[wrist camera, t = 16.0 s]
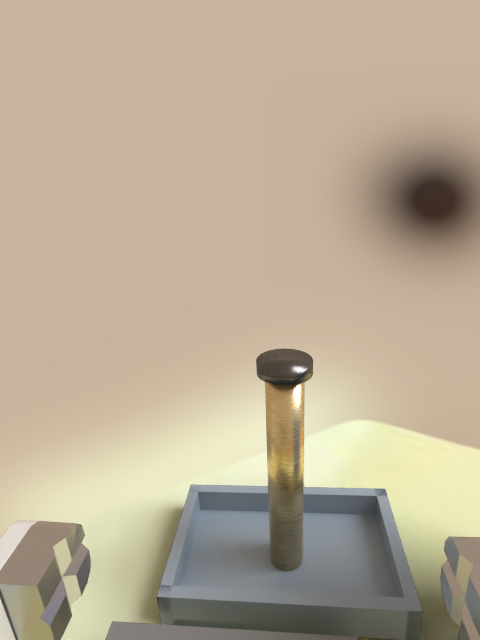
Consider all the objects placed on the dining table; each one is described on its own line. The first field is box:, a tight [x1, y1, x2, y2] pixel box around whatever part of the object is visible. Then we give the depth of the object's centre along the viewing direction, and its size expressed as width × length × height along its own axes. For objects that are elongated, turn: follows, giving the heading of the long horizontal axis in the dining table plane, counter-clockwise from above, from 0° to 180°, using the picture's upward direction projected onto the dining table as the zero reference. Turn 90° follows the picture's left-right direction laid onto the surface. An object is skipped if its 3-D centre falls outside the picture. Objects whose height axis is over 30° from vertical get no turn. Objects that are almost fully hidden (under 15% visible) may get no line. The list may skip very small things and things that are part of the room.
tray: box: [157, 485, 423, 640], centre depth 30 cm, size 16×10×2 cm, turn 84°
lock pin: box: [256, 349, 313, 571], centre depth 28 cm, size 3×3×16 cm
